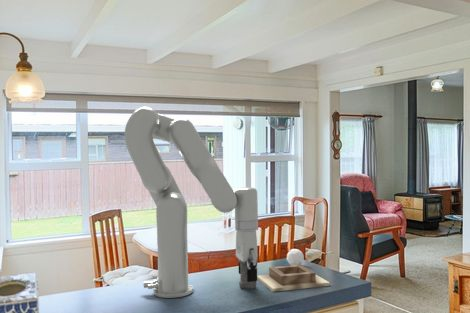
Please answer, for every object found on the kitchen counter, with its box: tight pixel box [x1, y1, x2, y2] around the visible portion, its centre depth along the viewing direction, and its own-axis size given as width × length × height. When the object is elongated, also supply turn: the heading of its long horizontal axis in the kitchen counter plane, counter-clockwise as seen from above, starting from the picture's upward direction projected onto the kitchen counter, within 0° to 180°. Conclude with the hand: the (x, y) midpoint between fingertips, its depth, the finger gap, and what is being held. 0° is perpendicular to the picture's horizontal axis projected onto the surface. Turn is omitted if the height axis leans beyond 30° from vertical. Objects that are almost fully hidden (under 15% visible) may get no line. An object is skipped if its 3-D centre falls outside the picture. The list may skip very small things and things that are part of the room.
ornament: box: [286, 248, 305, 265], centre depth 168 cm, size 6×7×7 cm
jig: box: [257, 264, 331, 292], centre depth 146 cm, size 20×16×4 cm
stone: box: [238, 259, 257, 290], centre depth 141 cm, size 3×6×10 cm, turn 81°
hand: (247, 277), depth 141 cm, fingers open, 9 cm apart
